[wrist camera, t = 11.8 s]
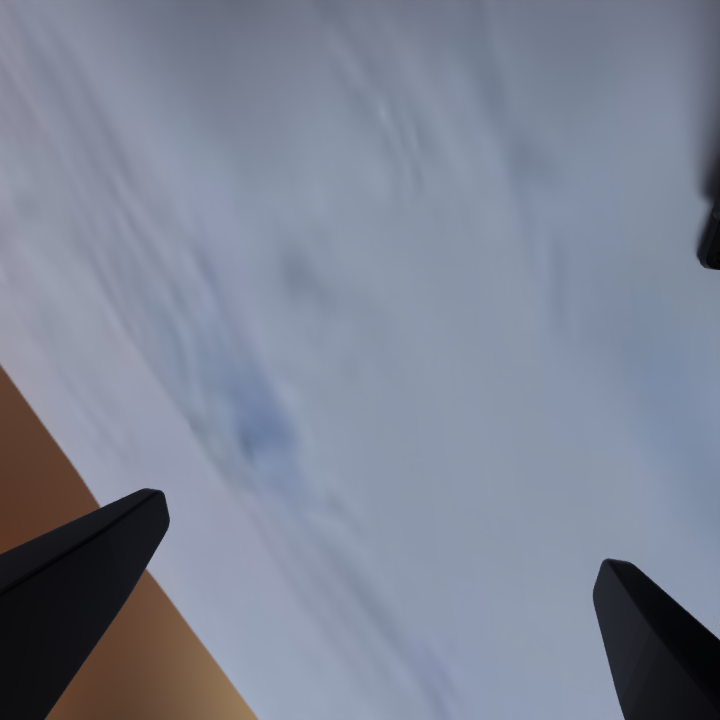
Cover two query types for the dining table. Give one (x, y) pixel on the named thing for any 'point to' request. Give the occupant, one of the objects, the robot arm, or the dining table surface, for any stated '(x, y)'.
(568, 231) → the dining table surface
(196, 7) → the dining table surface
